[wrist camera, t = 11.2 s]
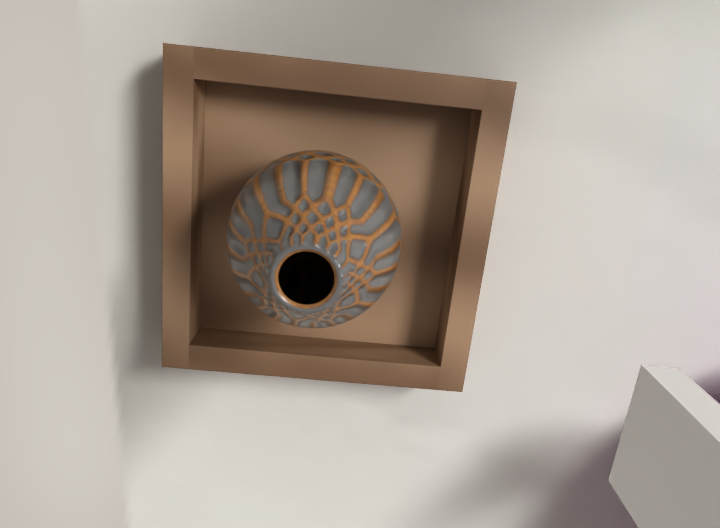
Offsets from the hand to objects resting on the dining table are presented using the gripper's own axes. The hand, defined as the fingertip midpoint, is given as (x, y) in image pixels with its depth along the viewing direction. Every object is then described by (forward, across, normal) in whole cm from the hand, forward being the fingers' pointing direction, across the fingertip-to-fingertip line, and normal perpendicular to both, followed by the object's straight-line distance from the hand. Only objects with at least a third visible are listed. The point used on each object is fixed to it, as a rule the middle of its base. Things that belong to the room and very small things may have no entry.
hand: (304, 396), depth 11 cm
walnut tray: (+16, 0, 0) cm, 17 cm away
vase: (+16, 0, 0) cm, 16 cm away
